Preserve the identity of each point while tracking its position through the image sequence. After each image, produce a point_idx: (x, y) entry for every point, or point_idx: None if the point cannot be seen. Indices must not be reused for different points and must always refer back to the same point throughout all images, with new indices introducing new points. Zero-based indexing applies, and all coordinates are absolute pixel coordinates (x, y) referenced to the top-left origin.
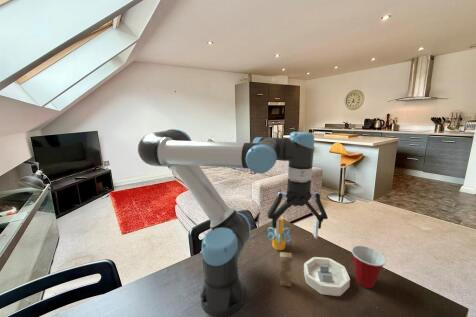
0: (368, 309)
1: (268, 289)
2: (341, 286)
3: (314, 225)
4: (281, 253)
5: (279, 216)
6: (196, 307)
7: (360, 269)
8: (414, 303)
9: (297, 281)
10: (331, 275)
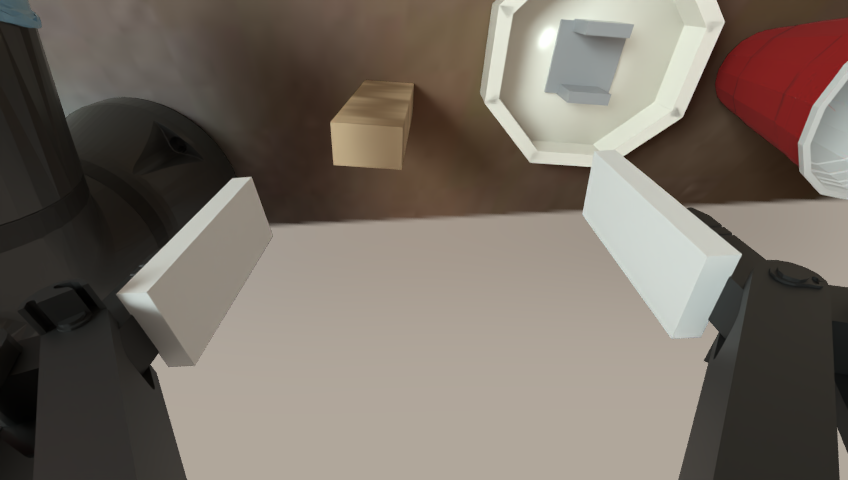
0: None
1: (319, 135)
2: None
3: (640, 233)
4: (339, 135)
5: (164, 417)
6: None
7: (766, 131)
8: None
9: (444, 83)
10: (605, 104)
